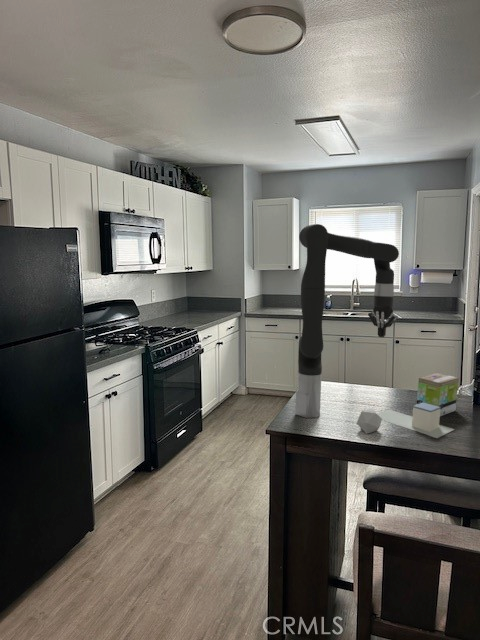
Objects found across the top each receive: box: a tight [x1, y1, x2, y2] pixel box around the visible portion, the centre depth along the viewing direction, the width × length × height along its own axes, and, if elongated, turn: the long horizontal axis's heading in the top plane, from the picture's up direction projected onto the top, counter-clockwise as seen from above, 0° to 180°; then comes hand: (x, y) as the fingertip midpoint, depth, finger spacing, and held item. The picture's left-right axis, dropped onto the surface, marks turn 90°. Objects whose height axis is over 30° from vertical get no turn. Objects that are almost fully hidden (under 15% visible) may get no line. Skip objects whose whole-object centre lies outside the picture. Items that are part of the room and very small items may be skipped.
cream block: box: [411, 402, 441, 432], centre depth 174 cm, size 7×7×8 cm
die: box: [356, 408, 383, 435], centre depth 170 cm, size 8×9×10 cm
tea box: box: [415, 372, 460, 417], centre depth 192 cm, size 15×10×15 cm
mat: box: [376, 409, 456, 439], centre depth 179 cm, size 13×28×1 cm, turn 39°
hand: (381, 336), depth 190 cm, fingers closed
